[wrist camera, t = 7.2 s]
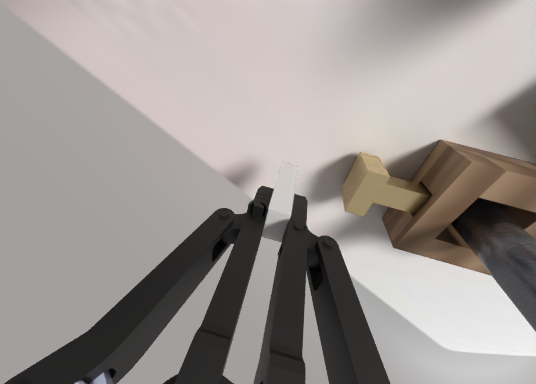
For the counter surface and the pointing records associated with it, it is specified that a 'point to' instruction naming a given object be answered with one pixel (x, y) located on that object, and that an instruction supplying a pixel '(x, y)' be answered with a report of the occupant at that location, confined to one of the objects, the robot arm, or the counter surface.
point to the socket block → (462, 201)
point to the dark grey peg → (502, 252)
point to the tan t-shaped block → (380, 188)
